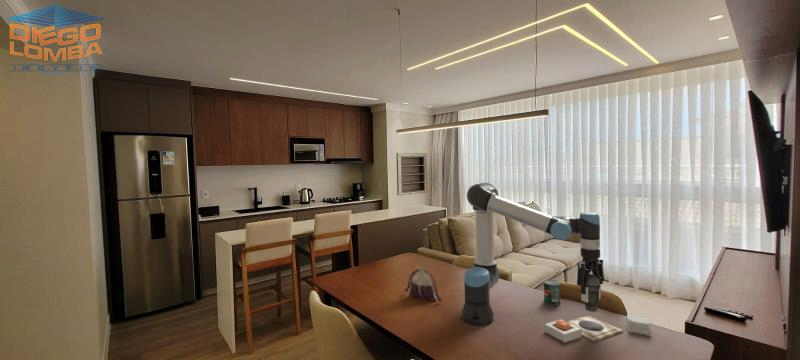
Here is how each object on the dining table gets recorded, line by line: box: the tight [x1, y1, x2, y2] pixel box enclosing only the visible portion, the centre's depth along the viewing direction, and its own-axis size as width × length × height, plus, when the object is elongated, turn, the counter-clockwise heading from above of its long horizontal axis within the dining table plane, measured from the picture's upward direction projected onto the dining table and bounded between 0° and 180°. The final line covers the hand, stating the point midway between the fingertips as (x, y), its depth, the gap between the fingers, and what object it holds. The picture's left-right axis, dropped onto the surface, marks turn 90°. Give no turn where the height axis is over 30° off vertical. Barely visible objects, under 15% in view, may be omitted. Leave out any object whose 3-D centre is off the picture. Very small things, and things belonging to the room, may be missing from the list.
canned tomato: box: [543, 279, 561, 306], centre depth 175 cm, size 8×8×11 cm
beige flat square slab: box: [566, 314, 623, 343], centre depth 146 cm, size 18×16×1 cm
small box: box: [626, 313, 651, 336], centre depth 144 cm, size 8×8×5 cm
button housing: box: [544, 318, 582, 343], centre depth 142 cm, size 10×10×4 cm
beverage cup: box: [583, 273, 600, 313], centre depth 146 cm, size 7×7×20 cm
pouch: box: [404, 265, 442, 303], centre depth 186 cm, size 25×8×19 cm, turn 58°
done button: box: [555, 319, 570, 331], centre depth 142 cm, size 6×6×2 cm
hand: (591, 299), depth 146 cm, fingers closed on beverage cup, 7 cm apart
